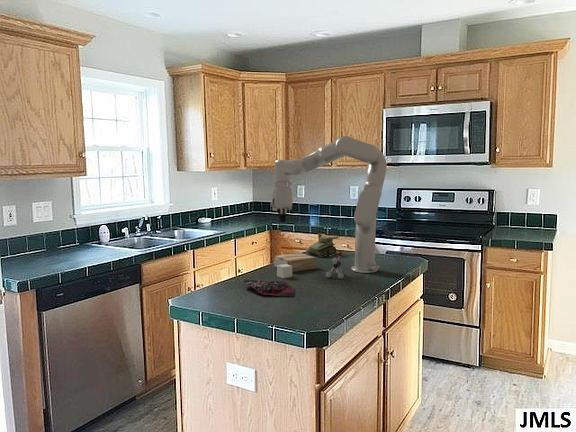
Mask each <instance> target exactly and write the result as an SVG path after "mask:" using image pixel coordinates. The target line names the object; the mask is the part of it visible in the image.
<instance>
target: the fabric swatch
mask: <svg viewBox="0 0 576 432" xmlns="http://www.w3.org/2000/svg"><path fill="white" fill-rule="evenodd" d="M243 283H244V284H247V285H248V286H249V287H251V289H252V290H255V292H257V293H258V294H262V295H269V296H273V297H275V296H277V297H291V298H292V297H293V298H295V291H296V290H295V288H294V289H293V288H292V287H291V286H290V284H289V283H288V282H286V281H283V280H282V281H281V280H273V281H263V280H256V279H254V280H253V279H244V280H243Z"/></svg>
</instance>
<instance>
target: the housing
mask: <svg viewBox="0 0 576 432" xmlns="http://www.w3.org/2000/svg"><path fill="white" fill-rule="evenodd" d="M274 258H277V259H280V260H283V261H287V262H289V265H291V266H292V273H294V272H300V271H306V270H314V269H316V267H317V266H316V263H317V262H316V260H317V258H316V257H315V256H313V255H309V254H305V253H302V252H293V253H288V254H287V253H286V254H279V255H274ZM273 266H274V267H275V268H277V266H275V265H273Z"/></svg>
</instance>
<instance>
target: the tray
mask: <svg viewBox="0 0 576 432" xmlns="http://www.w3.org/2000/svg"><path fill="white" fill-rule="evenodd" d="M282 264H288V262H286V261H283V260H280V259H277V258H274V265H275V266H277V265H282ZM274 265H273V266H274Z"/></svg>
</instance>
